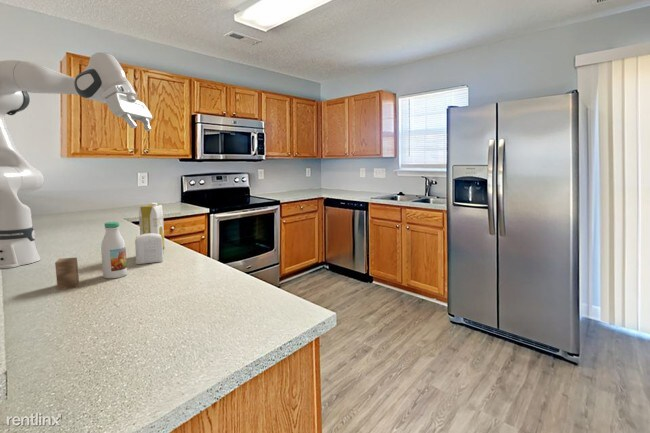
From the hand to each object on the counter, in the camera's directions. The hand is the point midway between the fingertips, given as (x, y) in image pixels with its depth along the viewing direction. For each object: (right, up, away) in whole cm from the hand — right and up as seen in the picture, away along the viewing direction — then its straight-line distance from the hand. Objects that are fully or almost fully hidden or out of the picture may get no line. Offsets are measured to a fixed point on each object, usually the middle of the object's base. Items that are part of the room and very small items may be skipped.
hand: (141, 128), depth 132 cm
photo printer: (-5, -53, +16) cm, 55 cm away
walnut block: (-18, -57, -13) cm, 61 cm away
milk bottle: (-9, -55, -2) cm, 56 cm away
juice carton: (-9, -51, +26) cm, 58 cm away
